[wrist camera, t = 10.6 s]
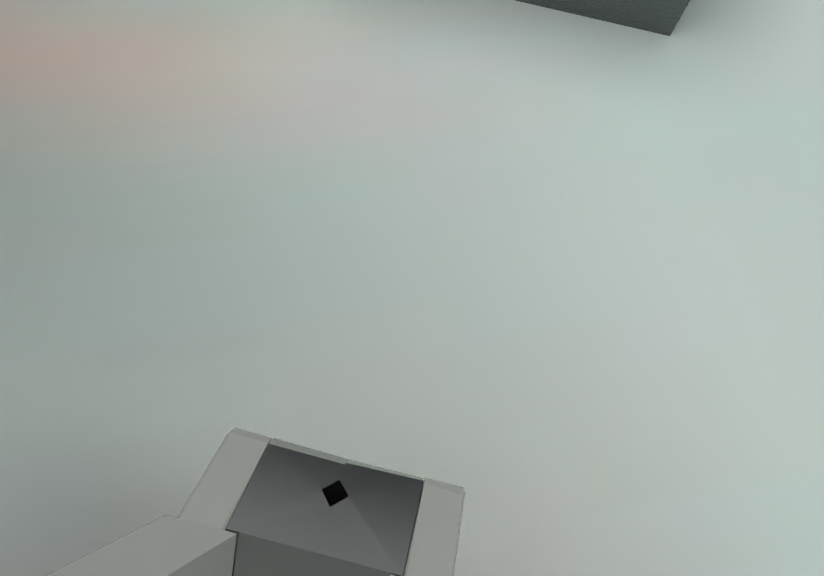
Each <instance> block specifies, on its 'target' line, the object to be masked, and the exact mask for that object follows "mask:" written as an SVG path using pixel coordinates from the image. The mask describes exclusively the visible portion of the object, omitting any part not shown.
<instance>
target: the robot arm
mask: <svg viewBox="0 0 824 576" xmlns="http://www.w3.org/2000/svg"><path fill="white" fill-rule="evenodd" d="M464 496H465V492H464V489H463V487H459V486H455V485H451V484H447V483H443V482H439V481H435V480H431V479H426V478H425V480H424V482H423V478H420V477H416V476H412V475H408V474H404V473H400V472H396V471H392V470H388V469H384V468H381V467H377V466H373V465H369V464H365V463H361V462H357V461H353V460H349V459H345V458H342V457H338V456H335V455H331V454H328V453H324V452H321V451H317V450H314V449H310V448H307V447H303V446H300V445H296V444H293V443H289V442H286V441H282V440H279V439H275V438H273V439H271V438H269V437H265V436H262V435H258V434H255V433H252V432H248V431H245V430H241V429H238V428H235V429H233V430H232V431H231V432H230V433H228V434H227V436H226V437H225V439H224V441H223V442H222V444H221V446H220V447H219V449H218V451H217V453H216V454H215V456H214V458H213V459H212V461H211V463H210V464H209V466H208V468H207V469H206V471H205V473H204V474H203V476H202V478H201V480H200V481H199V483H198V485H197V486H196V488H195V490H194V491H193V493H192V495H191V496H190V498H189V500H188V501H187V503H186V505H185V506H184V508H183V510H182V512H181V513H180V515H179V517H178V518H177V517H173V516H169V515H165V516H163V517H161V518H159V519H157V520H155V521H153V522H151V523H149V524H147V525H145V526H143V527H141V528H139V529H137V530H135V531H133V532H131V533H129V534H127V535H125V536H123V537H121V538H119V539H117V540H115V541H113V542H111V543H109V544H108V545H106V546H104V547H102V548H100V549H98V550H96V551H94V552H92V553H90V554H88V555H86V556H84V557H82V558H80V559H78V560H76V561H74V562H72V563H70V564H68V565H66V566H64V567H62V568H60V569H58V570H56V571H54V572H52V573H50V574H49V575H47V576H453V575H454V568H455V561H456V554H457V546H458V539H459V532H460V525H461V518H462V510H463V503H464Z"/></svg>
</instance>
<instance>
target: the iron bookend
mask: <svg viewBox="0 0 824 576" xmlns="http://www.w3.org/2000/svg"><path fill="white" fill-rule="evenodd" d="M516 1H520V2H525V3H529V4H533V5H538V6H542V7H546V8H551V9H555V10H559V11H564V12H568V13H572V14H577V15H581V16H585V17H590V18H594V19H598V20H603V21H607V22H611V23H616V24H620V25H624V26H629V27H633V28H637V29H642V30H646V31H650V32H655V33H659V34H663V35H668V36H670V34H671V33H672V31H673V29H674V27H675V26H676V24H677V22H678V20H679V19H680V17H681V15H682V13H683V12H684V10H685V8H686V6H687V5H688V3H689V1H690V0H516Z"/></svg>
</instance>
